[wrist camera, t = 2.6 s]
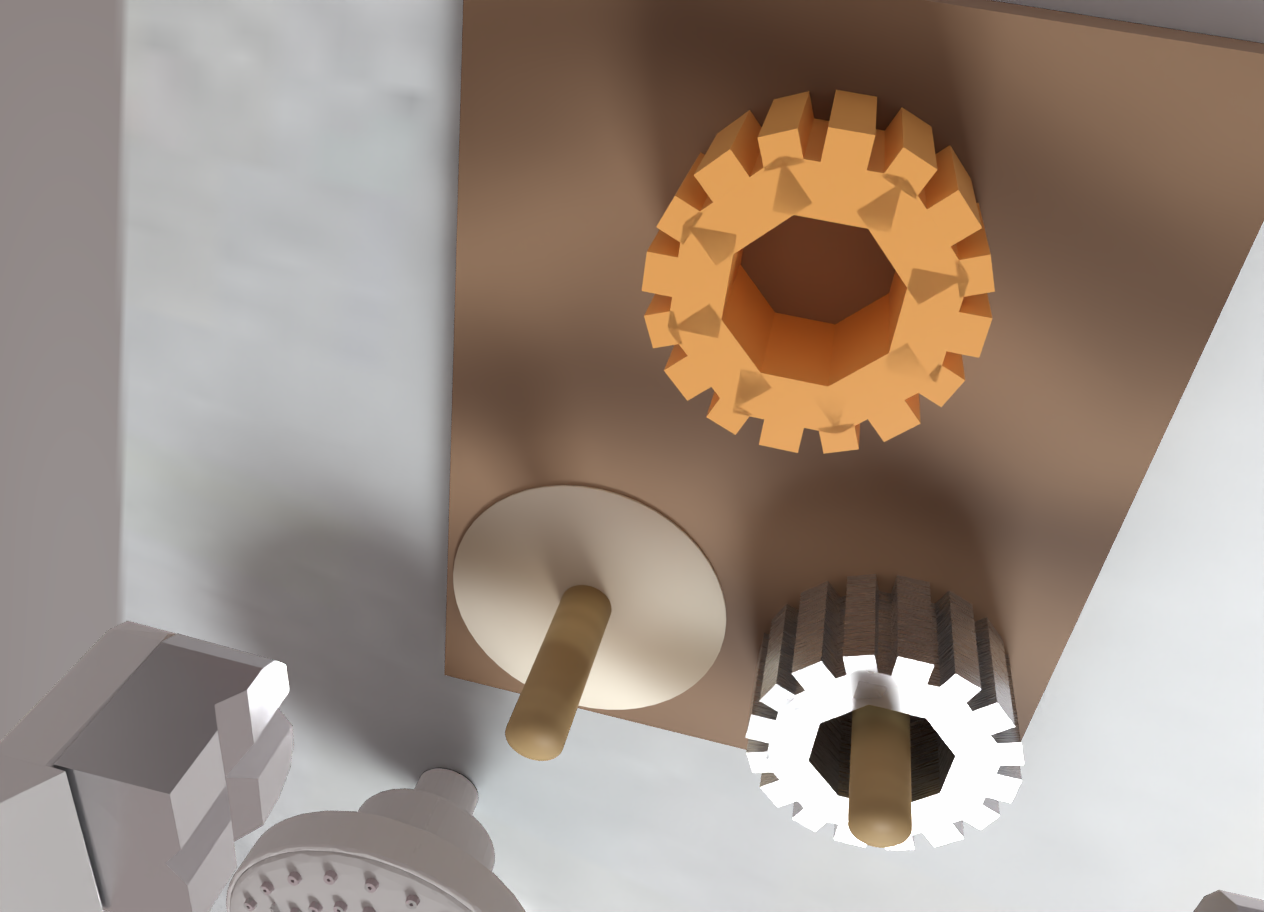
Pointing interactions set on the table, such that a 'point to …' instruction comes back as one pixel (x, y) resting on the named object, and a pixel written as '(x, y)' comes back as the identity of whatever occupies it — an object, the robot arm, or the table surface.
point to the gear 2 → (885, 704)
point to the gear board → (828, 292)
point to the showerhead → (378, 857)
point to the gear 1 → (803, 348)
